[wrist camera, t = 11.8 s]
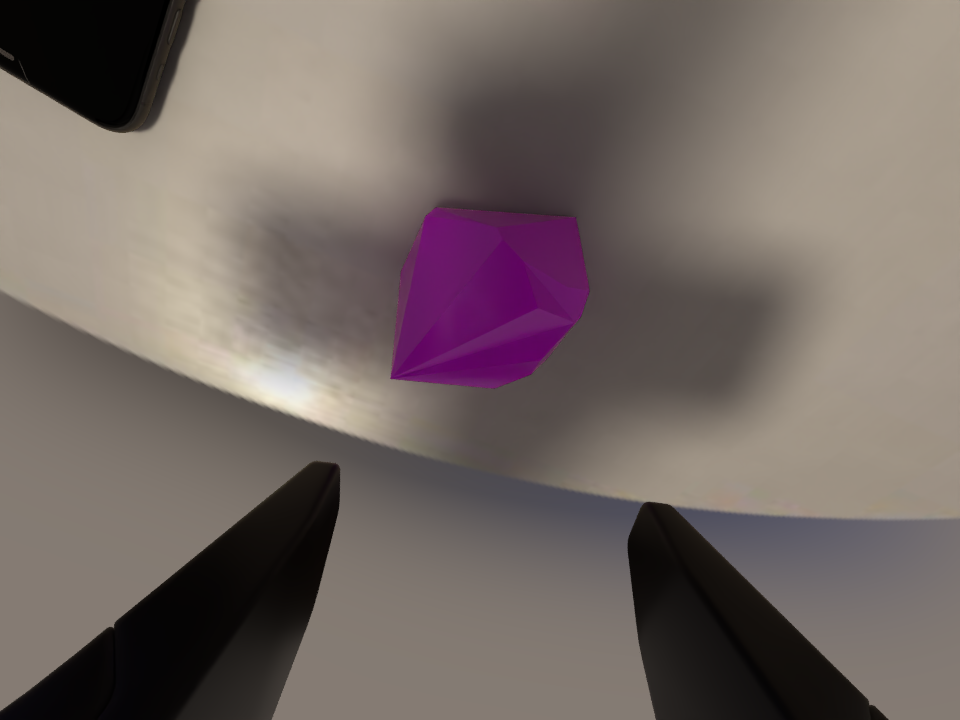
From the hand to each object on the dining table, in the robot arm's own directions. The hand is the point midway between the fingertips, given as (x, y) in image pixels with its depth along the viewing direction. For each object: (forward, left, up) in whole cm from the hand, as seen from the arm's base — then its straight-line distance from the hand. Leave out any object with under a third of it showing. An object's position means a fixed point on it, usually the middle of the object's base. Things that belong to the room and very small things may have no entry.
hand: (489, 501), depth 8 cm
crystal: (0, 0, -11) cm, 11 cm away
